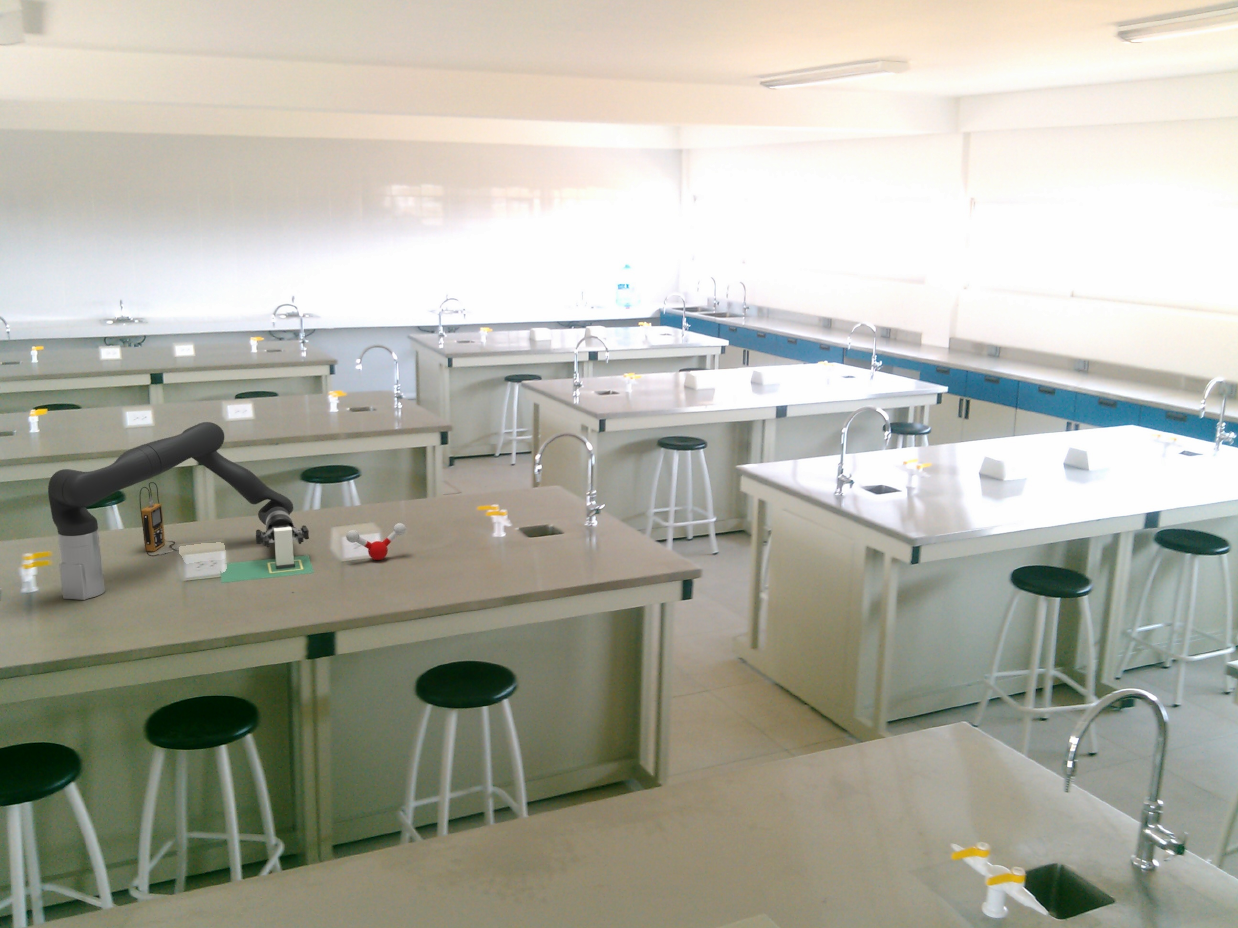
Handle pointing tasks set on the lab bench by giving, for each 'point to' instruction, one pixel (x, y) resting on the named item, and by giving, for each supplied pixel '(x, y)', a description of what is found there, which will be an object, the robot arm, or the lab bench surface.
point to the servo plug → (283, 546)
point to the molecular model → (376, 548)
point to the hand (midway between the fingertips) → (284, 542)
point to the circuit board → (264, 569)
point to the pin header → (285, 566)
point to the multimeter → (153, 525)
